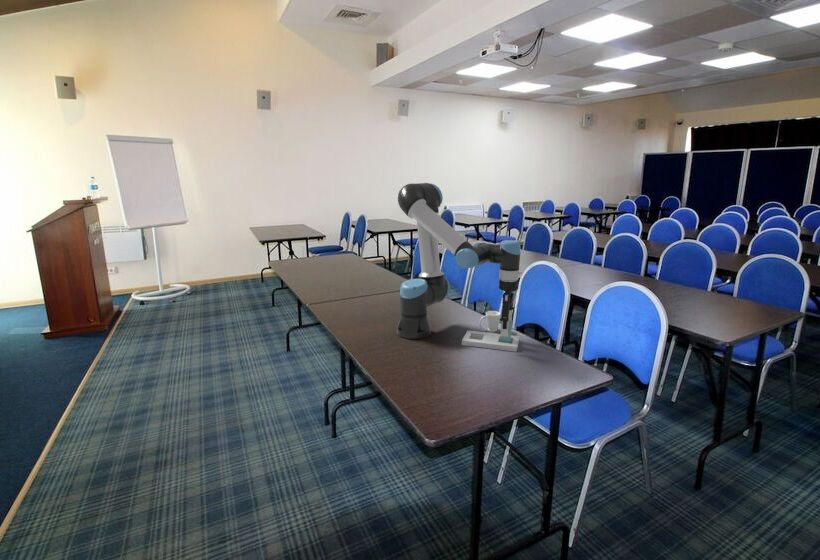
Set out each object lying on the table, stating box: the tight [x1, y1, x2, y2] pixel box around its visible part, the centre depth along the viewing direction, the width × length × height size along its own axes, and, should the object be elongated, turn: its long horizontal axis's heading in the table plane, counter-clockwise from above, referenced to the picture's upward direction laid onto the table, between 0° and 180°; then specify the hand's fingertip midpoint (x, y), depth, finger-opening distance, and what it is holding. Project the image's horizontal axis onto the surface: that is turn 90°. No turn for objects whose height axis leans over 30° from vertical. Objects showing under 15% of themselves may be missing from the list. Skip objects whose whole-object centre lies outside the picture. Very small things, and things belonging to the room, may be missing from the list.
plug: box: [499, 317, 513, 343], centre depth 171 cm, size 4×4×12 cm
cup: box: [478, 310, 502, 333], centre depth 187 cm, size 7×10×8 cm
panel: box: [461, 330, 520, 353], centre depth 174 cm, size 22×12×2 cm, turn 71°
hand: (506, 330), depth 171 cm, fingers open, 13 cm apart
